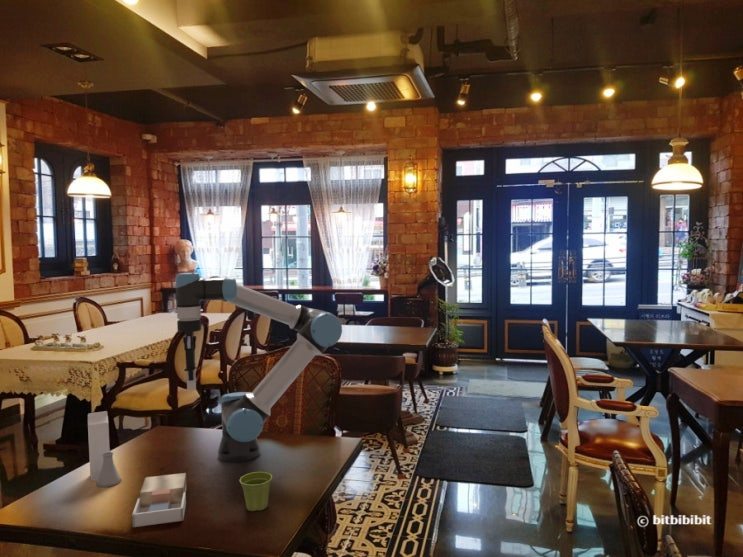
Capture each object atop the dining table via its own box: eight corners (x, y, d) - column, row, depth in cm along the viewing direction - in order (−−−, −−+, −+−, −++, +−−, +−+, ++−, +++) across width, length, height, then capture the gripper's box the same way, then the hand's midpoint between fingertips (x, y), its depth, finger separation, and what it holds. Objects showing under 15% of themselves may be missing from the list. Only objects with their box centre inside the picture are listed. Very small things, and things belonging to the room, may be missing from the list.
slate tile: (167, 509, 155) (167, 519, 155) (169, 501, 160) (169, 511, 160) (148, 511, 154) (148, 522, 154) (150, 503, 159) (151, 513, 159)
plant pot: (257, 517, 157) (256, 487, 156) (233, 509, 162) (232, 480, 162) (279, 504, 165) (278, 475, 164) (256, 497, 170) (255, 469, 169)
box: (185, 503, 166) (185, 492, 166) (183, 520, 156) (182, 508, 156) (138, 509, 163) (138, 498, 163) (132, 527, 153) (132, 514, 152)
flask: (111, 488, 178) (110, 457, 178) (91, 487, 180) (90, 456, 179) (125, 479, 186) (124, 450, 185) (106, 478, 187) (105, 448, 186)
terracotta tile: (170, 488, 164) (169, 493, 161) (171, 505, 164) (170, 509, 161) (152, 490, 163) (151, 495, 160) (153, 507, 163) (151, 512, 160)
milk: (110, 477, 187) (108, 413, 186) (90, 481, 184) (88, 416, 183) (109, 471, 193) (107, 408, 191) (89, 475, 190) (87, 411, 188)
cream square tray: (186, 488, 177) (185, 472, 177) (183, 503, 166) (183, 487, 166) (146, 493, 174) (145, 477, 174) (140, 509, 163) (140, 492, 163)
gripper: (178, 317, 190) (181, 385, 191) (175, 322, 178) (178, 395, 179) (201, 316, 192) (204, 384, 193) (200, 320, 180) (202, 393, 181)
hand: (191, 389), depth 186 cm, fingers closed
